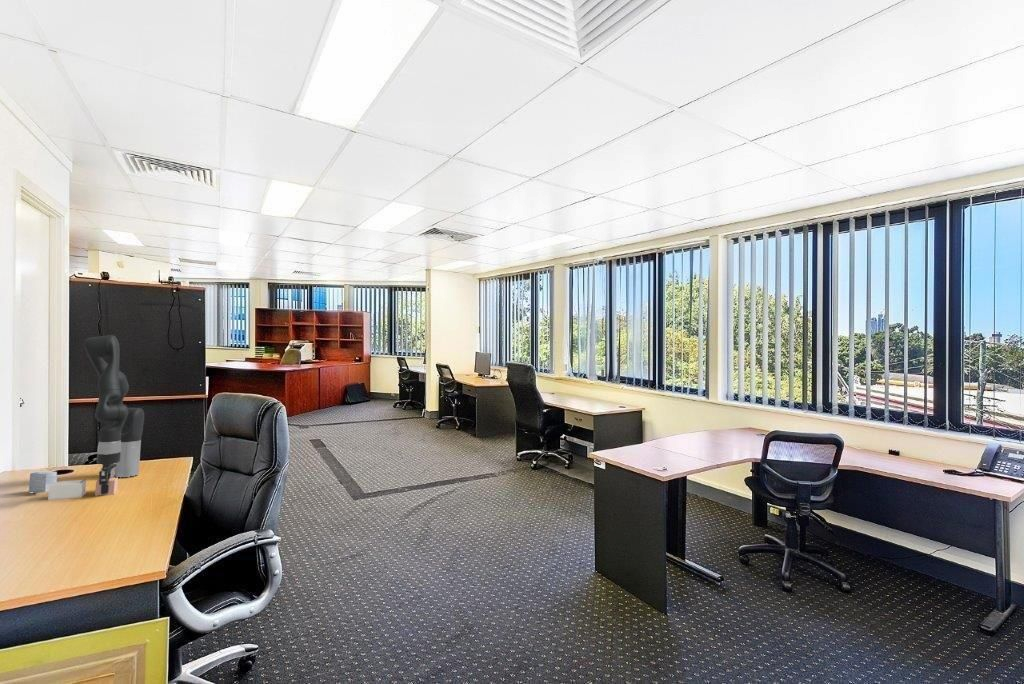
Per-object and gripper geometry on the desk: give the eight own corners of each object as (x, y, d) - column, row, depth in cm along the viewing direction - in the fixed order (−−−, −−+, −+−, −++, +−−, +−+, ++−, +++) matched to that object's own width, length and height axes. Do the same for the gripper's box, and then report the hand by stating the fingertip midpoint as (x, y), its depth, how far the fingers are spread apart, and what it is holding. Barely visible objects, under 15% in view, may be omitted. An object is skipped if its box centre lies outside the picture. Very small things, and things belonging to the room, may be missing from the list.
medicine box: (56, 491, 197) (57, 471, 197) (44, 494, 192) (46, 474, 192) (40, 490, 197) (41, 470, 198) (28, 493, 193) (29, 473, 193)
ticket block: (53, 496, 187) (54, 481, 187) (85, 494, 192) (86, 479, 192) (48, 500, 183) (49, 484, 183) (81, 497, 187) (82, 482, 188)
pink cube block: (98, 492, 194) (99, 478, 194) (117, 490, 197) (118, 477, 197) (95, 495, 190) (96, 481, 190) (113, 494, 193) (114, 480, 193)
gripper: (103, 448, 198) (100, 488, 198) (92, 455, 186) (89, 497, 185) (125, 447, 202) (122, 486, 201) (115, 454, 189) (112, 495, 189)
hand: (106, 491), depth 193 cm, fingers closed on pink cube block, 5 cm apart
